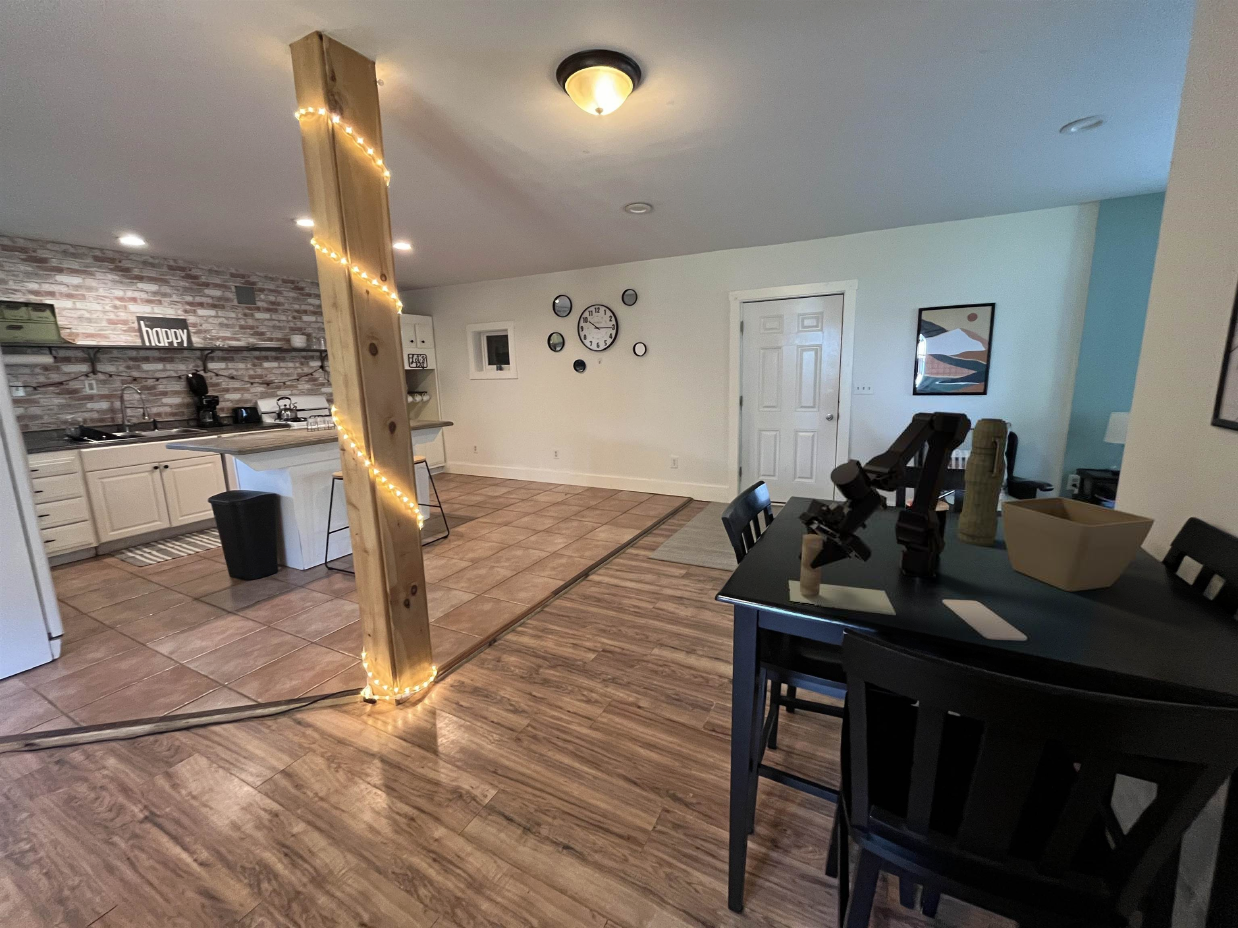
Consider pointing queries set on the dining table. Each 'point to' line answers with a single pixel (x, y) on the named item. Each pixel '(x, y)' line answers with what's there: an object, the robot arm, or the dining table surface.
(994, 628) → the smartphone
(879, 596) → the sage mat
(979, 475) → the thermos
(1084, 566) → the flower pot
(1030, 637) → the dining table surface
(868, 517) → the robot arm
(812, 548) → the maple post
